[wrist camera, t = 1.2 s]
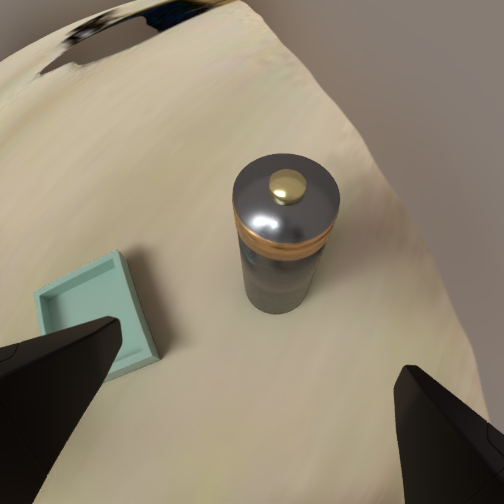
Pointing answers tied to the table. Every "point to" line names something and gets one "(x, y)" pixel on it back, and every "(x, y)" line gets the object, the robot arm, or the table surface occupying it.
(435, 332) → the table surface
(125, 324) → the tray
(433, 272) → the table surface
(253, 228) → the lidded jar
